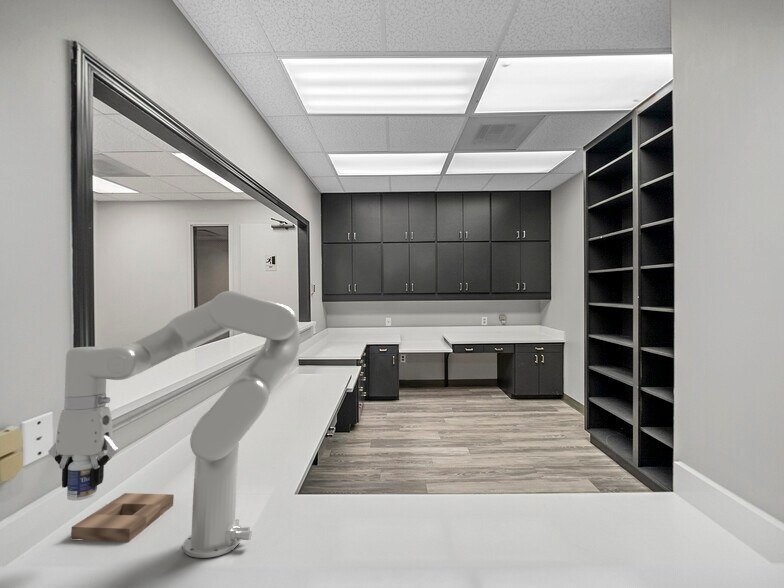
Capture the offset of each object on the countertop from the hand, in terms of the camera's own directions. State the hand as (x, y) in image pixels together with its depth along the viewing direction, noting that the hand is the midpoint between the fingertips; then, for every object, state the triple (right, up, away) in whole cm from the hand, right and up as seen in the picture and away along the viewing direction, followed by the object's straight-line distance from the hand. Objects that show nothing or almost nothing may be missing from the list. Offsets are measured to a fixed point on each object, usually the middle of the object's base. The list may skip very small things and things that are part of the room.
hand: (82, 484), depth 95 cm
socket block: (-1, -17, +17) cm, 24 cm away
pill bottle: (0, -3, 0) cm, 3 cm away
